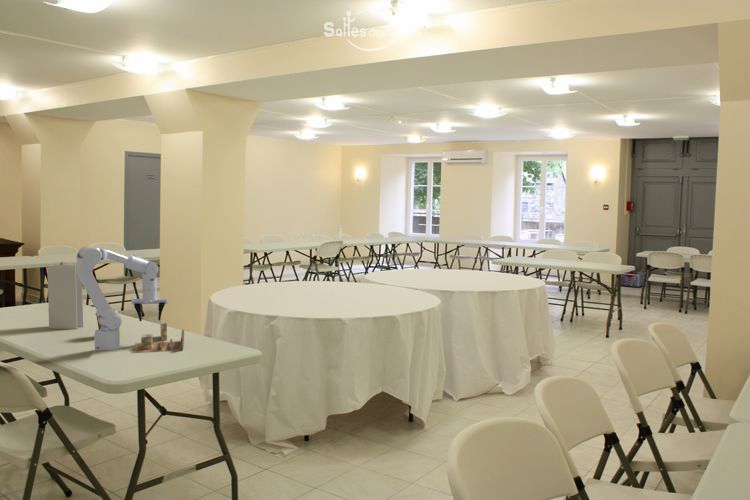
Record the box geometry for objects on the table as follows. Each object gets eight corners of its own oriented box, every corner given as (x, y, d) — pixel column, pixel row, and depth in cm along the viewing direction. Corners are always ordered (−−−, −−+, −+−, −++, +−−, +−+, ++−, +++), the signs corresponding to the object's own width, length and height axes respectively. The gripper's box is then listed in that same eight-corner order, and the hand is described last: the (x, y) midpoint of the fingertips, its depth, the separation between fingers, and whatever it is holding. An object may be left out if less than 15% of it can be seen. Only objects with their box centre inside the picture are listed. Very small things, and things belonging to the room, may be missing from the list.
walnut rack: (130, 355, 252) (130, 340, 251) (135, 345, 269) (135, 331, 269) (182, 352, 257) (182, 338, 257) (184, 343, 274) (184, 329, 274)
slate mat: (148, 344, 272) (148, 343, 272) (150, 337, 284) (150, 336, 284) (177, 342, 275) (177, 341, 275) (178, 336, 287) (178, 335, 287)
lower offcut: (141, 349, 258) (141, 343, 258) (142, 345, 265) (142, 339, 264) (151, 349, 259) (151, 343, 259) (152, 345, 266) (152, 339, 265)
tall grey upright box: (83, 326, 307) (82, 265, 305) (77, 329, 301) (75, 266, 299) (56, 325, 308) (54, 264, 306) (49, 328, 303) (47, 266, 300)
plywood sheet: (162, 341, 275) (161, 323, 274) (160, 337, 284) (160, 319, 283) (166, 341, 275) (166, 323, 275) (165, 336, 285) (165, 319, 284)
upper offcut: (141, 343, 258) (141, 337, 258) (142, 340, 263) (142, 334, 263) (151, 342, 259) (151, 336, 259) (152, 340, 264) (152, 334, 264)
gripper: (130, 290, 264) (131, 322, 265) (166, 290, 268) (167, 321, 269) (132, 288, 271) (132, 319, 272) (167, 287, 275) (168, 318, 276)
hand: (150, 320), depth 271 cm, fingers open, 7 cm apart
